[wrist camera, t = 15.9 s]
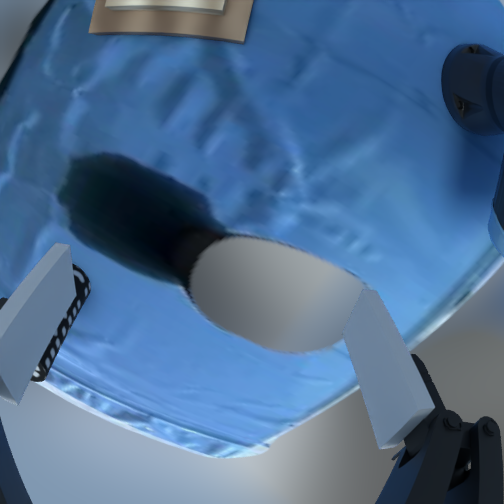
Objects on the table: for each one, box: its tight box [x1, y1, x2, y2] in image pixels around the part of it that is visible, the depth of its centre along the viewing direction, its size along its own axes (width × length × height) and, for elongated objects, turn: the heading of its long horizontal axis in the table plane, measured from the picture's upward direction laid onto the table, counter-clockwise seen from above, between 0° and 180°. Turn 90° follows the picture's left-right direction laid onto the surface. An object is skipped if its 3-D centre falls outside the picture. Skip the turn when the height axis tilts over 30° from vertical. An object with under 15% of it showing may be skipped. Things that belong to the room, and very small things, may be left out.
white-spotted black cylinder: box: [30, 264, 91, 382], centre depth 42 cm, size 8×8×20 cm
